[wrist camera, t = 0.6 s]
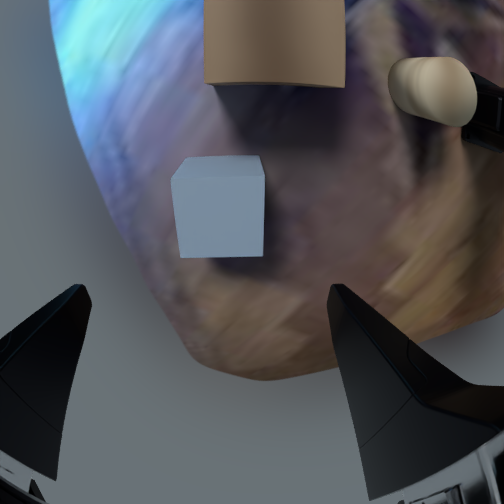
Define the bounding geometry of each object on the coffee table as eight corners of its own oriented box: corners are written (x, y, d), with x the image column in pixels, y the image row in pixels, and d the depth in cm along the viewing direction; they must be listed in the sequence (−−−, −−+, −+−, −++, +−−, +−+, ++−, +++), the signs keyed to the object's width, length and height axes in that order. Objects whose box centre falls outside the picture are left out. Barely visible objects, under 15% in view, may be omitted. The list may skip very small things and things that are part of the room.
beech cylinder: (436, 67, 14) (478, 70, 10) (432, 120, 17) (473, 133, 13) (388, 51, 14) (427, 47, 10) (385, 108, 17) (424, 118, 12)
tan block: (318, -1, 12) (342, -24, 8) (319, 87, 16) (344, 87, 12) (213, -5, 12) (204, -33, 8) (213, 85, 16) (204, 83, 12)
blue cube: (258, 154, 19) (264, 176, 14) (257, 219, 21) (262, 256, 17) (186, 157, 18) (170, 179, 14) (192, 221, 21) (180, 257, 17)
